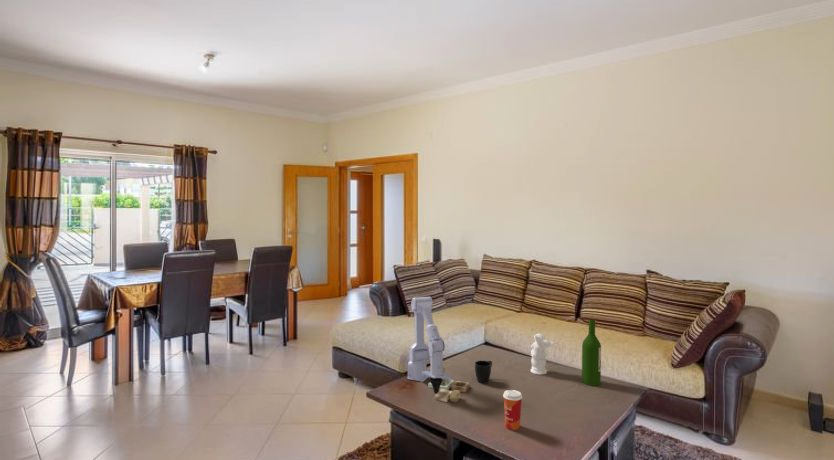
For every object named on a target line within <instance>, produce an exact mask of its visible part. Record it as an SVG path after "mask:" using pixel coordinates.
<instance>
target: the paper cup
mask: <svg viewBox="0 0 834 460" xmlns="http://www.w3.org/2000/svg"><path fill="white" fill-rule="evenodd" d="M502 397H503V403H504V404H503V408H504V425H505V428H506V429H507V430H510V431H518V430H520V426H521V425H520V424H521V413H522V412H521V411H522V400H523V395H522V392H520V390H519V391H518V390H516V389H509V390H508V389H507V390H505V391H504V392H503V394H502Z"/></svg>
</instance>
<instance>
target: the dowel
mask: <svg viewBox="0 0 834 460" xmlns="http://www.w3.org/2000/svg"><path fill="white" fill-rule="evenodd" d="M443 373H444V374H446V371H445V368H444V367H443ZM441 385H442V386H444V385H445V380H444V379H443V380H442V382H441Z"/></svg>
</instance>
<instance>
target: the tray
mask: <svg viewBox="0 0 834 460" xmlns="http://www.w3.org/2000/svg"><path fill="white" fill-rule="evenodd" d="M454 383H455V380H454V379H451V381H448V380H445V385H444V386H442V385H440V388H439V391H440V390H441V389H444V390H449V389H450V388H452V385H453V384H454ZM427 388H428V389H433V386H432V384H431V382H430V381H429V382H428V383H427Z"/></svg>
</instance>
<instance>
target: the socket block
mask: <svg viewBox="0 0 834 460" xmlns="http://www.w3.org/2000/svg"><path fill="white" fill-rule="evenodd" d="M470 384H471V383H470V382H465V381H459V380H455V381H454V384H453V385H452V386H451V391H453V390H459V391H460V393H466V392H467V391H468V389H470V387H471V385H470Z"/></svg>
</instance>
